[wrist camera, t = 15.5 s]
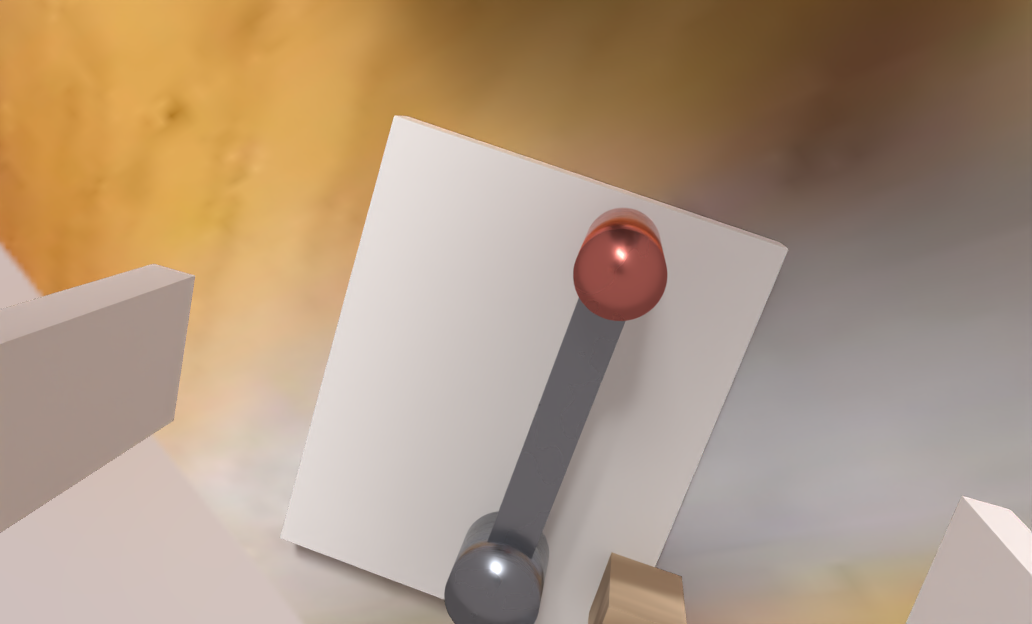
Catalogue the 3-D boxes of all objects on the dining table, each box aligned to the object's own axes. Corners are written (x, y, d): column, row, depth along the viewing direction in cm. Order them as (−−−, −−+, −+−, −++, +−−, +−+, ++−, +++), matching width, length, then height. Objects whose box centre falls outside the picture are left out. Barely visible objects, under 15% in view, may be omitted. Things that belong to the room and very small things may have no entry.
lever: (591, 193, 34) (581, 211, 27) (681, 226, 34) (692, 252, 27) (435, 620, 40) (394, 721, 33) (510, 650, 40) (485, 758, 33)
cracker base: (406, 115, 37) (381, 115, 34) (780, 242, 36) (796, 255, 33) (295, 519, 43) (264, 556, 39) (615, 638, 42) (613, 688, 38)
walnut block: (611, 552, 39) (608, 606, 34) (681, 576, 38) (687, 634, 34) (589, 612, 40) (583, 672, 35) (657, 636, 39) (660, 700, 35)
